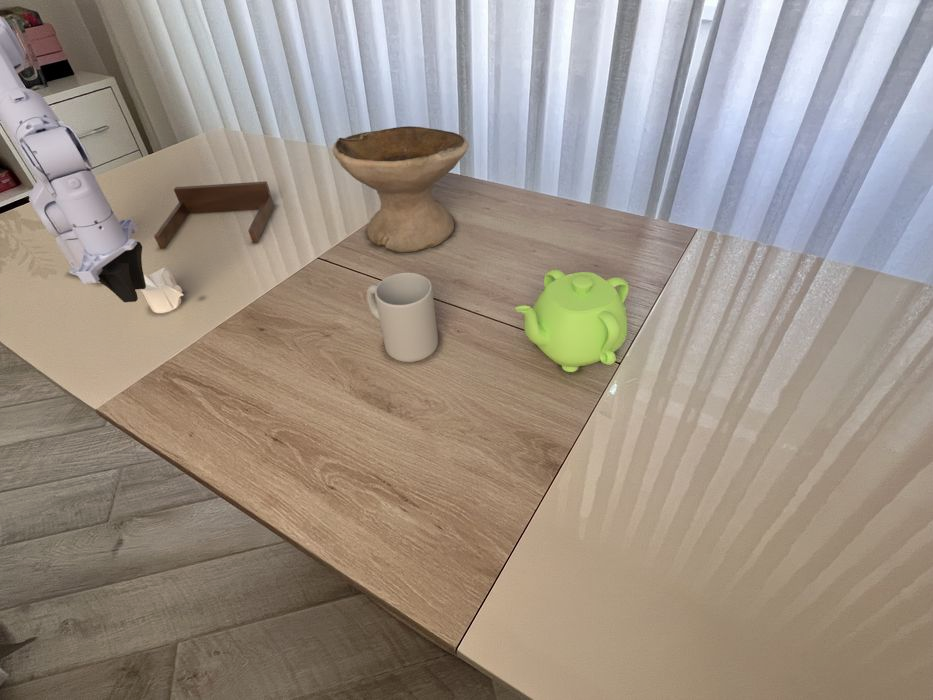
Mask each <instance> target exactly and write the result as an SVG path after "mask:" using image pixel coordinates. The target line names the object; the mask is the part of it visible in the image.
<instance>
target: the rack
mask: <svg viewBox="0 0 933 700" xmlns="http://www.w3.org/2000/svg"><path fill="white" fill-rule="evenodd" d="M173 191H174V193H175V196H176V198H177V200H178V203H177V204H176V205H175V207H174V208H173V209H172V211H171V212H170V214H169V215H168V217H167V218H166V219H165V221H164V222H163V223H162V224H161V226H160V228H159V229H158V230H157V231H156V233H155V234H154V239H155V241H156V243H157V246H158V247H159V249H161V250H164V249H166V248H167V247H168V245H169V243H170V242H171V240H173V237H174V236H175V235H176V233H177V232H178V230H179V229H180V227H182V225H183V223H184V222H185V220H186V219H187V217H188V216H189V215H190V214H191V215H192V214H206V213H207V214H209V213H225V212H241V211H257V212H256V214H255V216H254V218H253V220H252V222H251V225H250V226H249V228H248V233H249V235H250V239H251V242H252V244H258V243H259V241H260V239H261V236H262V234H263V233H264V230H265V228H266V226H267V223H268V222H269V219H270V217H271V215H272V213H273V210H274V208H275V203H274V201H273V197H272V193H271V191H270V188H269V184H268V181H265V180H264V181H251V182H235V183H234V182H233V183H217V184H202V185H201V184H200V185H187V186H175V187H174V188H173Z"/></svg>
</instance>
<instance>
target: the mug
mask: <svg viewBox="0 0 933 700" xmlns="http://www.w3.org/2000/svg"><path fill="white" fill-rule="evenodd" d="M366 300H367V304H368V307H369V311H370V312H371V315H373V317H374V318H375V319H376V320H378V321H379V322H380V328H381V332H382V338H383V345H384V349H385V351H386V353H387V354H388V355H389V356H390V357H391V359H394V360H396V361H399V362H403V363H413V362H415V363H416V362H419V361H423V360H425V359H427V358H429V357H430V356H431V355H432V354H433V353H434V352H435V351H436V350H437V348H438V345H439V333H438V326H437V319H436V310H435V302H434V301H435V300H434V293H433V285H432V283H431V281H430V280H429V279H428V277H426V276H424V275H422V274H420V273H416V272H399V273H395V274H391V275H389V276H387V277H385V278H383V279H382V280H381V281H380V282H378V284H371V285H369V286H368V288H367V290H366Z"/></svg>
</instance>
